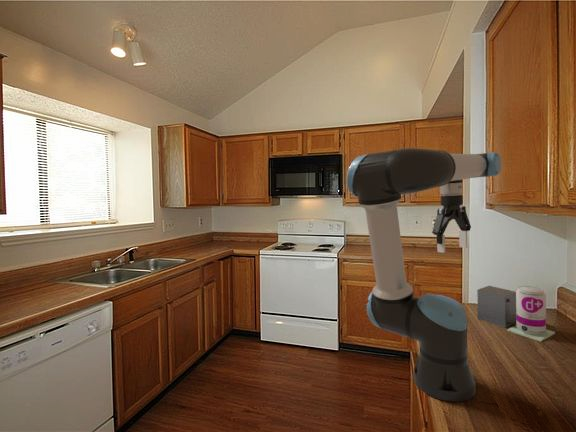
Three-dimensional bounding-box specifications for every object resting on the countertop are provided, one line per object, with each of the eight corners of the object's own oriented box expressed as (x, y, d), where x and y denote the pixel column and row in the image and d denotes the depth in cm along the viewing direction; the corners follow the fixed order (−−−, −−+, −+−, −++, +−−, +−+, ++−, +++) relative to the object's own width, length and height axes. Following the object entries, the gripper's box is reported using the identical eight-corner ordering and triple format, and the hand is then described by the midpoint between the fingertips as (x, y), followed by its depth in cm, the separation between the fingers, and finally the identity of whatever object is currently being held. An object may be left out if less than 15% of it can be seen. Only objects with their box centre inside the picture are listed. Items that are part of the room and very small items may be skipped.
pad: (540, 341, 102) (540, 339, 102) (507, 330, 111) (507, 328, 111) (554, 333, 107) (554, 331, 107) (522, 323, 116) (522, 321, 116)
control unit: (506, 328, 113) (506, 296, 112) (477, 319, 122) (477, 289, 121) (518, 322, 117) (518, 292, 116) (489, 314, 126) (489, 285, 125)
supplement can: (546, 337, 103) (546, 294, 102) (516, 332, 108) (515, 290, 107) (545, 328, 110) (545, 287, 109) (516, 323, 115) (516, 284, 114)
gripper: (439, 196, 108) (440, 255, 110) (480, 192, 120) (481, 246, 122) (421, 197, 115) (422, 252, 117) (461, 193, 127) (462, 244, 128)
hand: (452, 249), depth 119 cm, fingers open, 13 cm apart
